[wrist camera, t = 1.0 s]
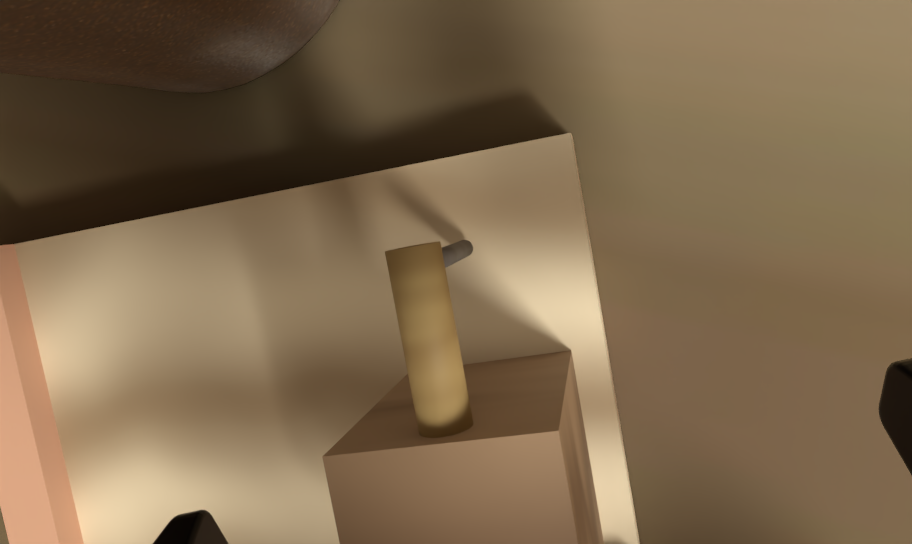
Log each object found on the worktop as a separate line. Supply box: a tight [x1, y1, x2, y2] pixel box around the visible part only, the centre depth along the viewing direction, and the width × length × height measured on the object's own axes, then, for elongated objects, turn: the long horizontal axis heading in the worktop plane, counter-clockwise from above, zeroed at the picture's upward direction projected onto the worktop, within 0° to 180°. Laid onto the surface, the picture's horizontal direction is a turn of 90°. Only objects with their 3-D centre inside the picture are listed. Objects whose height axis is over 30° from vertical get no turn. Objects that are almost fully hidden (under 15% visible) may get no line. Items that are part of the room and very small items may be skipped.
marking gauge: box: [322, 240, 604, 544], centre depth 18 cm, size 10×5×7 cm, turn 10°
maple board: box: [14, 133, 640, 544], centre depth 24 cm, size 14×22×2 cm, turn 100°
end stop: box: [0, 244, 84, 544], centre depth 24 cm, size 13×2×1 cm, turn 10°
